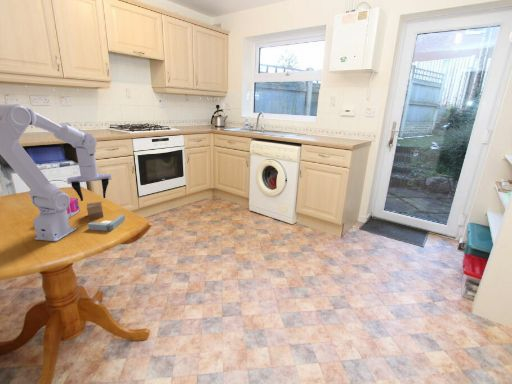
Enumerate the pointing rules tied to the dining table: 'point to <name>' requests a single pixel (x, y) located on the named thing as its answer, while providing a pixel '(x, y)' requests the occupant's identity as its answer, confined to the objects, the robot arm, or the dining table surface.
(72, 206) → the supplement box
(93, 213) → the walnut cube
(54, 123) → the robot arm
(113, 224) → the grey flat angled piece
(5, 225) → the dining table surface
